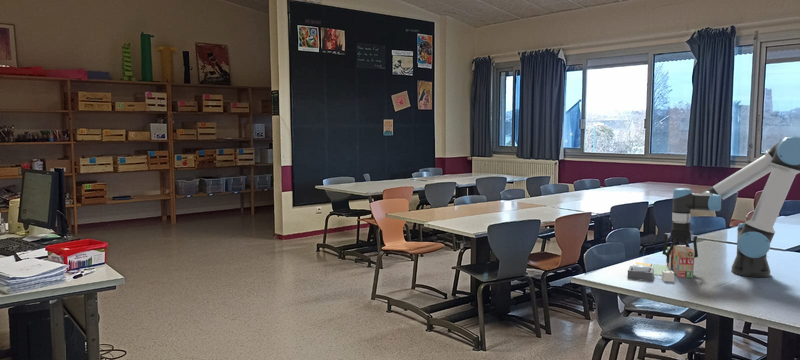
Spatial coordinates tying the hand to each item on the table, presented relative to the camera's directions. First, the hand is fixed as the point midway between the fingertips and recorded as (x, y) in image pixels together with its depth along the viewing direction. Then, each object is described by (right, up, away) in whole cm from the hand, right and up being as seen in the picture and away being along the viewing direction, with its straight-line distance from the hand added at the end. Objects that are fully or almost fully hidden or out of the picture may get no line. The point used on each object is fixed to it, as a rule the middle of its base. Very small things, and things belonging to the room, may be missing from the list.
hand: (679, 270), depth 262 cm
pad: (-14, 0, +8) cm, 16 cm away
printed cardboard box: (0, -1, 0) cm, 1 cm away
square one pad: (-7, 0, +4) cm, 8 cm away
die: (-12, -2, -15) cm, 19 cm away
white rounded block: (-22, -1, -9) cm, 23 cm away
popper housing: (-22, -1, -9) cm, 23 cm away
